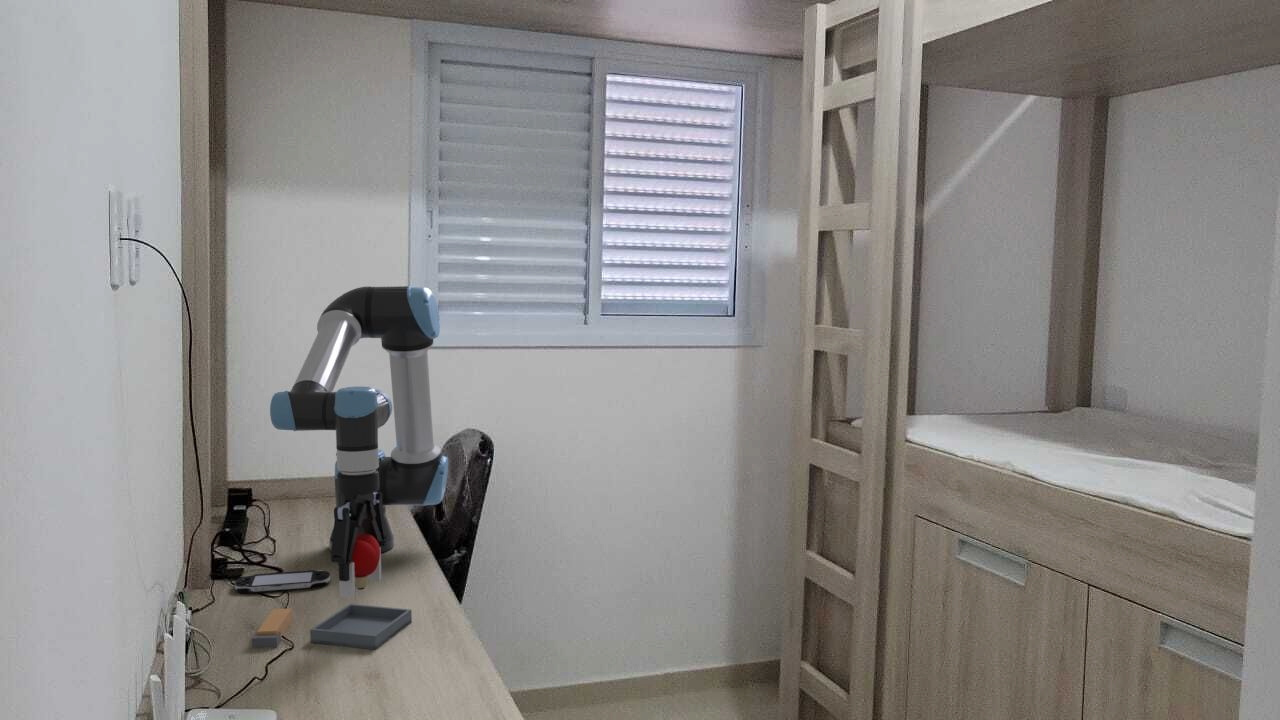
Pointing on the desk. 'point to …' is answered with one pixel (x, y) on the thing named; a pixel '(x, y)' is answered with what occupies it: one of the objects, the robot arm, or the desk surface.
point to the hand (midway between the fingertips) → (361, 588)
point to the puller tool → (272, 629)
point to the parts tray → (361, 626)
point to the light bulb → (365, 558)
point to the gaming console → (282, 581)
